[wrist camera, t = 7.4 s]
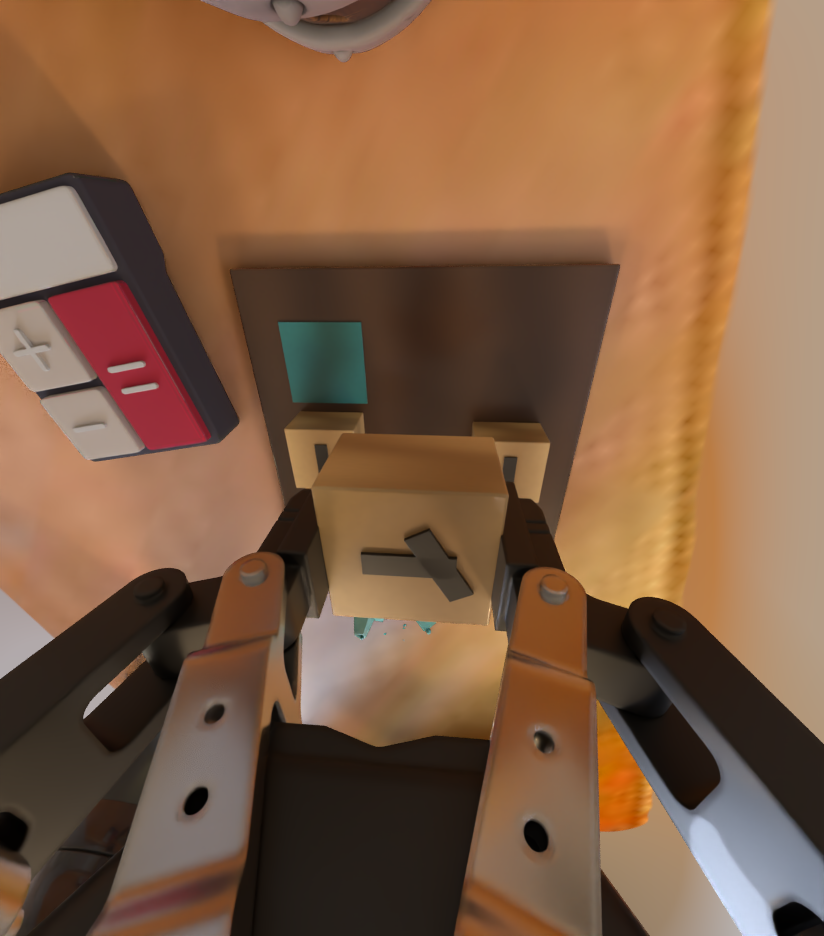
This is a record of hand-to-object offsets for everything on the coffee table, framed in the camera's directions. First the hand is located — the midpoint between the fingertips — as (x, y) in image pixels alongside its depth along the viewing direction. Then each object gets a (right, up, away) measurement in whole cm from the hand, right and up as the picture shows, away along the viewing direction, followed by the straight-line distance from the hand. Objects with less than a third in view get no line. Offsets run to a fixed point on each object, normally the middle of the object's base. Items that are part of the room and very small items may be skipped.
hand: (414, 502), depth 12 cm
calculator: (-20, +10, +13) cm, 26 cm away
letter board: (0, +4, +15) cm, 16 cm away
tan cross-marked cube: (0, 0, 0) cm, 0 cm away
